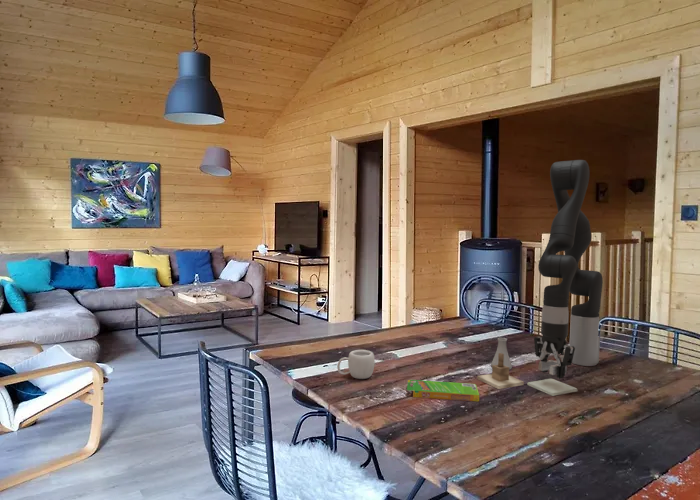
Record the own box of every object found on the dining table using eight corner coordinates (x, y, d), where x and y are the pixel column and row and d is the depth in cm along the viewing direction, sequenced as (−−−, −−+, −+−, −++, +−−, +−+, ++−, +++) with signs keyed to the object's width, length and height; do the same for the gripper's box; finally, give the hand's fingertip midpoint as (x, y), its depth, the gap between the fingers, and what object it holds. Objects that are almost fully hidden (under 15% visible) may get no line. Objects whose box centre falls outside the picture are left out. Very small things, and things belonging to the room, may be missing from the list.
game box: (478, 405, 143) (406, 397, 146) (475, 393, 153) (407, 385, 156) (479, 395, 143) (407, 386, 146) (476, 383, 153) (408, 376, 156)
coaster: (551, 380, 161) (551, 378, 161) (577, 391, 152) (577, 388, 152) (527, 384, 157) (527, 382, 157) (552, 395, 148) (552, 393, 148)
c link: (552, 367, 158) (552, 359, 158) (566, 372, 153) (566, 364, 153) (538, 369, 156) (538, 361, 156) (552, 375, 151) (553, 366, 150)
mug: (371, 371, 168) (372, 348, 167) (376, 380, 160) (377, 356, 159) (335, 373, 166) (335, 349, 166) (338, 381, 158) (339, 357, 157)
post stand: (501, 375, 166) (502, 348, 166) (523, 384, 157) (525, 356, 157) (477, 379, 162) (478, 351, 162) (498, 389, 153) (499, 360, 152)
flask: (513, 371, 171) (514, 342, 170) (491, 369, 172) (492, 340, 172) (511, 364, 178) (512, 336, 177) (489, 363, 180) (490, 335, 179)
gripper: (583, 324, 148) (580, 380, 150) (545, 314, 161) (543, 366, 163) (564, 326, 145) (561, 383, 146) (527, 316, 158) (525, 369, 159)
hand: (552, 374), depth 154 cm, fingers closed on c link, 5 cm apart
